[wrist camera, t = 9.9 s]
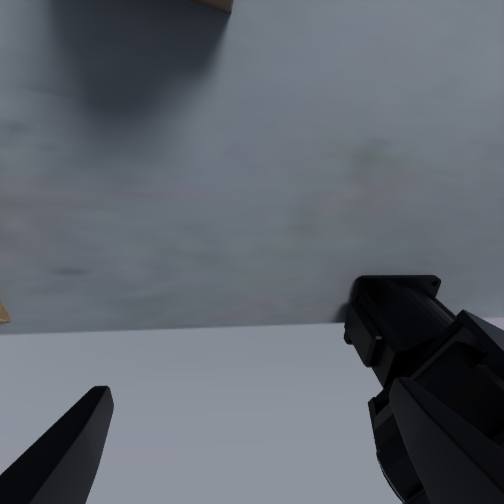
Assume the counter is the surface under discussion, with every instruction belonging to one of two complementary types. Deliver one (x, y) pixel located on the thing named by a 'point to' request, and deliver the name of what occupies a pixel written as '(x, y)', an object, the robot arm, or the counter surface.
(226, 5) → the oak base block
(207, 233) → the counter surface
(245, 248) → the counter surface
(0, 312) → the sandwich container
